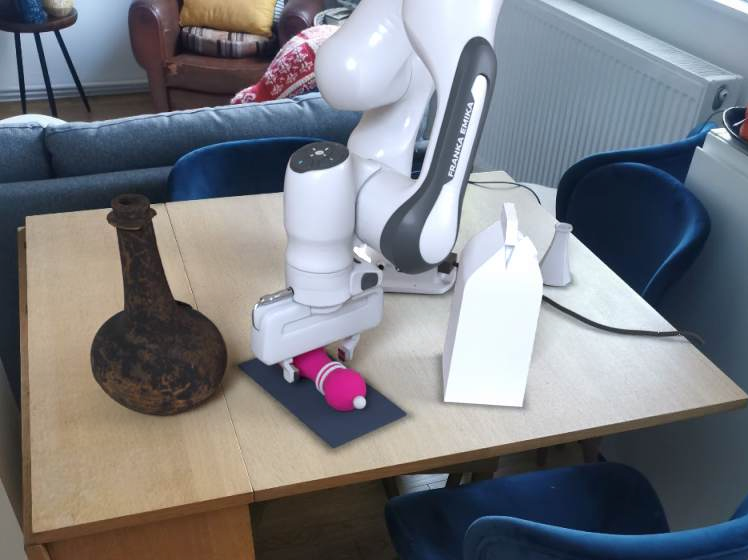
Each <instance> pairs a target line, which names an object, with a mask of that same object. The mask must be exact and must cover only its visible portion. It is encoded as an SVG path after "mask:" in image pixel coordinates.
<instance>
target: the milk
mask: <svg viewBox="0 0 748 560" xmlns="http://www.w3.org/2000/svg"><path fill="white" fill-rule="evenodd" d="M518 226H519V220H518V216H517V211H516V208H515V202H503V203H502V208H501V211H500V217H499V219H498V220H496V221H495V222H493V223H492V224H491V225H489V226H488V227H487V228H485V229H484V230H482V231H480V232H479V233H477V234H476V235H474V237H472V238H471V239H469V240H468V241H467V242H466V243H465V244H464V245H463V247H462V249H461V252H460V256H459V262H458V263H459V267H458V268H457V271H456V279H455V282H454V289H453V295H452V301H451V306H450V311H449V317H448V323H447V329H446V333H445V334H446V335H445V338H444V343H443V344H444V345H443V350H442V355H441V360H442V361H441V362H442V364H441V365H442V381H443V382H442V383H443V402H445V403H447V402H448V403H459V404H460V403H462V404H476V405H491V406H505V407H520V408H523V403H524V398H525V393H526V387H527V381H528V376H529V372H530V365H531V360H532V354H533V349H534V343H535V337H536V332H537V328H538V322H539V316H540V311H541V306H542V305H541V304H542V301H543V300H542V295H543V293H544V292H543V290H544V287H543V286H544V283H543V279H542V275H541V271H540V267H539V260H538V256H537V255H538V250H537V248H536V246H535V244H534V242H533V241H532V240H531V239H530V237H529V236H528V235H525V236H524V235H523V234H522V233H521V231H520V230H519V228H518Z"/></svg>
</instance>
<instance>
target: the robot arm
mask: <svg viewBox="0 0 748 560" xmlns="http://www.w3.org/2000/svg"><path fill="white" fill-rule="evenodd" d="M504 1H505V0H360V1H359V3H358V4H357V5H356V7H355V8H354V9H353V10H352V12H351V14H350V15H349V16H348V18H347V19H346V20H345V21H344V23H342V25H341V26H340V27H339V28H338V29H337V30H336V31H335V32H334V33H332V34H331V35H330V36H328V38H326V39H325V40H324V41H322V42H321V44H320V46H318V48H317V51H316V54H315V58H314V63H313V64H314V65H313V74H314V80H315V84H316V87H317V90H318V92H319V94H320V95H321V97H322V99H323V100H324V101H325V103H326V104H327V105H328V106H330V107H331V108H332V109H335V110H337V111H347V112H363V114H362V116H361V118H360V120H359V122H358V124H357V125H356V127H354V129H353V130H352V132H351V133H350V135H349V137H348V139H347V144H346V146H345V145H344V144H342V143H340V142H335V141H316V142H312V143H309V144H306V145H303V146H301V147H300V148H298V149H297V150H295V151H294V152H293V153H292V154H291V156H290V158H289V160H288V163H287V165H286V170H285V173H284V174H285V175H284V183H283V195H282V196H283V199H282V200H283V201H282V204H283V205H282V211H283V213H282V214H283V215H282V216H283V227H284V230H285V234H286V238H287V239H286V241H287V242H286V247H285V251H284V279H285V288H283V289H280V290H278V291H276V292H273V293H271V294H270V293H269V294H264V295H262V296H261V297H259V300H258V301H257V302H255V304H254V306H252V308H251V311H250V315H251V330H250V350H251V353H252V355H253V356H254V357H255V358H258V359H259V360H260V361H262V362H263V363H265V364H266V365H273V364H275V363H278V362H279V363H280V365H281V366H282V367H283V370H284V378H285V379H286V380H287V381H288V382H289V383H291V382H294V381H296V380H299V376H298V375H299V369H297V368H295V366H294V365H292V364H291V365H289V363H292V362H293V357H295V356H297V355H300V354H303V353H305V352H308V351H311V350H314V349H316V348H319V347H322V346H324V347H325V346H328V345H331V344H332V343H335V342H338V341H341V340H343V342H342V344H341V345H340V346H338V347H337V352H338V353H337V358H338V359H339V360H340V361H341V362H343V363H345V362H348V361H351V360H353V356H354V350H355V348H356V346H357V345H358V342H359V341H360V339H361V333H362V332H366V331H370V330H371V329H374V328H377V327H378V326H379V325H380V324H381V321H382V320H383V317H384V304H385V295H384V294H385V292H386V293H402V294H403V293H404V294H424V295H426V294H427V295H443V294H445V293H446V292H448V291H450V290H451V288H452V287H453V285H455V283H456V278H457V269H458V267H459V262H457V261H458V260H457V258H458V253H456V252H453V250H454V249H455V246H456V244H457V241H458V238H459V233H460V227H461V221H462V220H461V219H462V211H463V204H464V200H465V196H466V191H467V188H468V184H469V181H470V177H471V174H472V170H473V166H474V163H475V160H476V156H477V153H478V150H479V145H480V143H481V139H482V135H483V132H484V128H485V125H486V121H487V118H488V114H489V111H490V107H491V103H492V99H493V95H494V91H495V85H496V81H497V75H498V59H497V54H496V52H495V50H494V44H495V43H494V42H495V34H496V29H497V23H498V19H499V15H500V12H501V9H502V6H503V3H504ZM435 91H436V98H437V101H436V102H437V104H436V105H437V106H436V113H435V117H434V122H433V125H432V128H431V133H430V136H429V139H428V143H427V146H426V147H427V148H426V151H425V155H424V158H423V163H422V166H421V169H420V173H419V176H418V178H417V179H416V180H415V179H413V178H411V176H412V167H413V161H414V160H413V158H414V151H415V145H416V142H417V141H416V140H417V137H418V133H419V130H420V127H421V124H422V121H423V119H424V116H425V113H426V111H427V108H428V105H429V103H430V102H431V101H430V100H431V99H432V97H433V95H434V92H435ZM541 301H544V302H546V303H547V304H549V305H550V306H552V307H553V308H555V309H557V310H558V311H561V312H562V313H564V314H566V315H568V316H571V317H572V318H574V319H576V320H578V321H580V322H582V323H584V324H586V325H588V326H591V327H593V328H596V329H599V330H602V331H606V332H610V333H614V334H620V335H630V336H631V335H632V336H646V337H659V338H663V337H665V338H667V337H689V338H691V339H693V340H695V341H696V342H697V343H698V344H699V345H700V346H706V343H705V341H704V340H703V338H702V337H701V336H700V335H698V334H697V333H694V332H692V331H687V330H672V331H653V330H643V329H628V328H627V329H626V328H618V327H614V326H609V325H606V324H602V323H600V322H596V321H593V320H591V319H590V318H587V317H586V316H583V315H582V314H579V313H577V312H575V311H573V310H571V309H569V308H567V307H565V306H563V305H561V304H559V302H556V301H555V300H553V299H551V298H550V297H548V296H546V295H545V294H542V300H541ZM658 332H659V333H658ZM679 334H680V335H681V336H680V335H679ZM677 335H678V336H677Z"/></svg>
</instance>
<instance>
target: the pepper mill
mask: <svg viewBox="0 0 748 560" xmlns="http://www.w3.org/2000/svg"><path fill="white" fill-rule="evenodd" d="M325 349H326V348H325V346H322V347H319V348H316V349H314V350H311V351H308V352H305V353H303V354H300V355H297V356H295V357H293V362H292V363H289V365H291V364H292V365H294V366H295V368H297V369H299V375H298V376H302V377H307V378H310V379H311V380H313V381H314V382H315V383H316V388H317V389H318V391H319V392H321V393H322V394H323V395H325V398H326V401H327V402H328V404H329V405H330V406H331V407H333V408H334V409H336V410H338V411H350V410H353V409H355V408H357V409H362V408H364V407H365V405H366V400H365V398H364V397H365V394H366V384H365V382H366V380H365V379H364V378H363V376H362V375H361V374H360V373H359V372H358V371H356V370H354V369H351V368H348V367H347V366H345V365H344V364H343V363H341V362H340V361H338V362H333V361H332V360H331V359H330V358H329V357H328V356H327V354H326V353H327V352H326V350H325ZM278 365H279V366H280V367H281V368H282V369H283V367H282V366H281V365H280V363H279V362H278ZM343 365H344V366H343ZM347 368H348V369H347Z"/></svg>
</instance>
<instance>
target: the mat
mask: <svg viewBox="0 0 748 560" xmlns="http://www.w3.org/2000/svg"><path fill="white" fill-rule="evenodd" d="M326 354H327V356H328V357H329V358H330V359H331V360H332V361H333V362H339V360H337V359H336V358H335V357H333V356H332V355H330V354H329V352H326ZM342 365H343V366H345V365H344V364H342ZM237 367H238V368H239V369H240V370H241V371H243V373H244V374H246V375H247V376H248V377H249V378H250V379H252V380H253V381H254V382H255V383H256V384H258V385H259V386H260V387H261V388H262V389H263V390H265V391H266V392H267V393H268V394H269V395H270V396H271V397H273V398H274V399H275V400H276V401H277V402H279V404H281V405H282V407H284V408H285V409H287V410H288V412H289V413H291V414H292V415H293V416H295V418H297V419H298V420H300V422H301V423H303V424H304V425H305V426H306V427H307V428H308V429H310V431H312V432H313V433H314V434H315V435H317V436H318V437H319V438H320V439H321V440H322V441H324V442H325V444H327V445H328V446H330V448H332V449H335V448H338V447H340V446H343V445H345V444H347V443H349V442H351V441H353V440H356V439H357V438H360V437H362V436H364V435H366V434H368V433H371V432H373V431H375V430H378V429H380V428H382V427H384V426H387V425H388V424H392V423H393V422H396V421H397V420H399V419H402V418H404V417H406V416H407V412H406V411H404V410H403V409H402V408H401V407H399V406H398V405H397V404H396V403H394V402H393V401H392V400H390V399H389V398H387V397H386V396H384V394H382V393H381V392H380V391H379V390H377V389H376V388H374V387H373V386H372V385H370V384H369V383H368V382H366V381H365V384H366V394H365V397H364V398H365V400H366V405H365V407H364V408H362V409H357V408H355V409H353V410H350V411H338V410H336V409H334V408H333V407H331V406H330V405H329V404H328V402H327V401H326V398H325V395H323V394H322V393H321V392H319V391H318V389H317V388H316V383H315V382H314V381H313V380H311V379H310V378H307V377H302V376H299V380H296V381H294V382H291V383H289V382H288V381H287V380H286V379H285V378H284V370H283V369H282V368H281V367H280V366H279V365H278V363H275V364H273V365H266V364H265V363H263V362H262V361H260V360H259V359H258V358H257V357H254V358H252V359H251V358H250V359H249V360H246V361H243V362H240V363H238V364H237ZM346 368H347V369H349V368H348V367H346Z"/></svg>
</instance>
